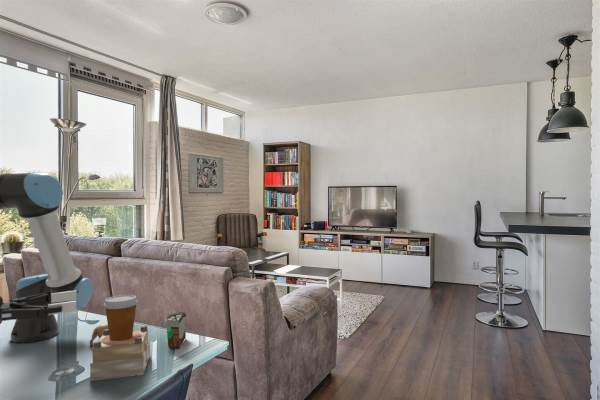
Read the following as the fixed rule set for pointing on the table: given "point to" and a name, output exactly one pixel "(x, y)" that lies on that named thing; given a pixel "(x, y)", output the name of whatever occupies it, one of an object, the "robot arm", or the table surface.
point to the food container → (176, 329)
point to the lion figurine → (97, 333)
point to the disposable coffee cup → (120, 316)
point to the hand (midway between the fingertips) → (76, 300)
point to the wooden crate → (120, 356)
